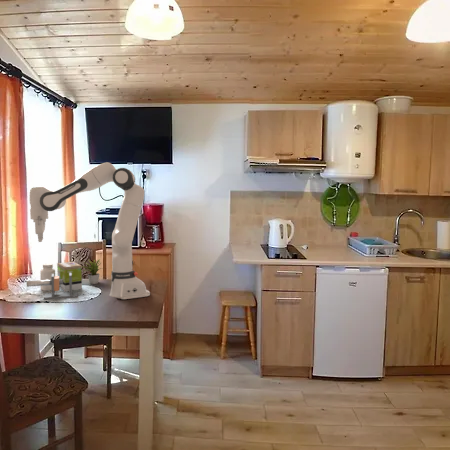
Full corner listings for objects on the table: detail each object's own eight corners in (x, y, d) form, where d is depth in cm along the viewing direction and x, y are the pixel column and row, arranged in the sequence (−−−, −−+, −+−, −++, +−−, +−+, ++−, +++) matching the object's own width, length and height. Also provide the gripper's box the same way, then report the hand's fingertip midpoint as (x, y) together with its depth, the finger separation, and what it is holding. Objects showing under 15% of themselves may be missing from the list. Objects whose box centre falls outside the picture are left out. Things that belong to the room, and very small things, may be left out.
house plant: (89, 280, 261) (88, 255, 260) (109, 281, 259) (109, 256, 257) (77, 285, 247) (77, 259, 246) (98, 286, 245) (98, 260, 243)
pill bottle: (56, 290, 236) (56, 264, 234) (42, 291, 231) (41, 266, 230) (53, 287, 242) (53, 262, 241) (39, 288, 238) (38, 263, 236)
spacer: (59, 287, 225) (59, 275, 225) (59, 290, 219) (59, 278, 218) (54, 288, 224) (54, 276, 224) (54, 291, 218) (53, 278, 217)
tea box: (57, 286, 244) (56, 262, 242) (74, 284, 250) (73, 261, 249) (65, 291, 232) (64, 266, 231) (82, 289, 238) (82, 264, 237)
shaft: (63, 283, 224) (62, 278, 223) (62, 284, 221) (62, 279, 221) (27, 286, 217) (27, 280, 217) (26, 287, 214) (26, 281, 214)
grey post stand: (77, 292, 230) (76, 272, 229) (77, 297, 221) (77, 275, 220) (44, 294, 224) (44, 273, 223) (43, 299, 215) (43, 277, 214)
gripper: (44, 216, 212) (46, 242, 214) (46, 214, 231) (47, 238, 233) (31, 217, 210) (33, 243, 211) (34, 214, 229) (35, 238, 230)
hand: (40, 240), depth 222 cm, fingers open, 8 cm apart
